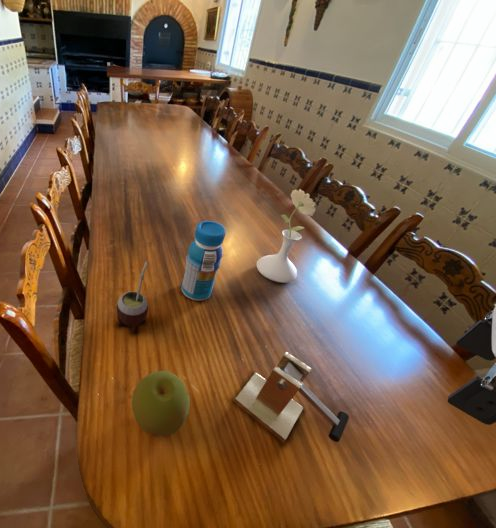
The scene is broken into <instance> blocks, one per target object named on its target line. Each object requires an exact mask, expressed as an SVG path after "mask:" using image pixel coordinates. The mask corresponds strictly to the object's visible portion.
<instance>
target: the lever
mask: <svg viewBox="0 0 496 528" xmlns="http://www.w3.org/2000/svg"><path fill="white" fill-rule="evenodd" d="M280 369H281V370H282V371H284V372H285V373H287V374H288V375H290V376H291V377H292V378H294V379H295V380H297V381H298V382H300V383H301V384H302V386H301V387H300V389H299V390H298V391H297V392H298V393H300V395H301V396H302V397H303V398H304V399H305V400H306V401H307V402H308V403H309V404H310V405H311V406H312V407H313V408H314V409H315V410H316V411H317V412H318V413H319V414H320V415H321V416H322V417H323V419H324V420H326V421H327V422H328V423H329V425H330V426H331V429H330V431H329V432H328V438H329V439H330V440H331V441H333V442H335V443H339V442H340V440H341V438H342V435H343V434H344V430H345V428H346V426H347V423H348V422H349V419H350V416H349V414H348V413H346V412H345V411H343V410H341V411H338V412H337V415H335V414H334V413H333V412H332V411H331V410H330V409H329V408H328V407H327V406H326V405H325V404H324V403H323V402H322V401H321V400H320V399H319V398H318V397H317V395H315V393H313V392H312V391H311V390H310V389H309V388H308V387H307V386H306V385H305V384H304V383H303V381H302V382H301V381H300V379H301V377H302V376H303V375H302V374H301V373H300V372H299V371H298V370H297V369H296V368H295V367H294V366H293V365H292V364H291V363H290V362H289V363H287V364H285V365H283V366H281V367H280Z"/></svg>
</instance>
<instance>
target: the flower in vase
mask: <svg viewBox="0 0 496 528" xmlns="http://www.w3.org/2000/svg"><path fill="white" fill-rule="evenodd" d="M289 196H290V199H291V201H292V204H293V206H295V209H294V210H293V212H292V213H291V215H290V217H288V216H287V214H281V215H279V216H280V218H282V219H283V220H284V222H285V223H286V224H288V226H289V227H288V228H289V229H283V230H282V232H281V234H282V237H283V239H282V244H281V248H280V249H279V251H278V252H277V253H276V254H268V255H264V256H261V257H260V258H259V259H258V260H257V261H256V269H257V270H258V272H259V274H261V275H262V276H263V277H264V278H266V279H267V280H269V281H272V282H275V283H281V284H286V283H290V282H293V281H294V280H296V279H297V276H298V270H297V268H296V267H295V265H294V264H293V262H292V261H291V260H290V259H289V257H288V255H289V254H290V251H291V249H292V247H293V246H294V244H295V243H296V242H298V241H300V240H302V238H303V236H302V234H301V233H300V232H298V231H301V230H303V229H305V226H300V225H299V226H298V225H297V226H293V227H292V226H291V224H292V223H291V220H292V217H293V215H294V214H295V213H296V212H297V210H298V212H300V213H301V214H303V215H305V216H310V217H313V215H315V213H316V210H317V207H315V206H316V202H314V199H313V198H310V196H311V195H310V194H309V193H305V191H304V190H302V189H301V188H299V189H294V190H293V189H292V190H291V193H290V195H289Z"/></svg>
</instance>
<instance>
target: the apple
mask: <svg viewBox="0 0 496 528" xmlns="http://www.w3.org/2000/svg"><path fill="white" fill-rule="evenodd" d="M190 404H191V397H190V395H189V392H188V390H187V387H186V385H185V382H184V381H183V380H182V379H181V378H180V377H179V376H177V375H176V374H174V373H172V372H170V371H168V370H157V371H153V372H150V373H148V374H147V375H146V376H144V377H143V378H142V379H141V380H139V382H137V384H136V386H135V388H134V389H133V390H132V397H131V410H132V413H133V417H134V419H135V422H136V423H137V424H138V426H139V427H140V428H141V429H142V430H143V431H145V432H146V433H149V434H150V435H152V436H155V437H168V436H172V435H175V434H177V432H178V431H180V429H182V428H183V427H184V424H185V423H186V420H187V418H188V414H189V412H190V408H191V406H190Z"/></svg>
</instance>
